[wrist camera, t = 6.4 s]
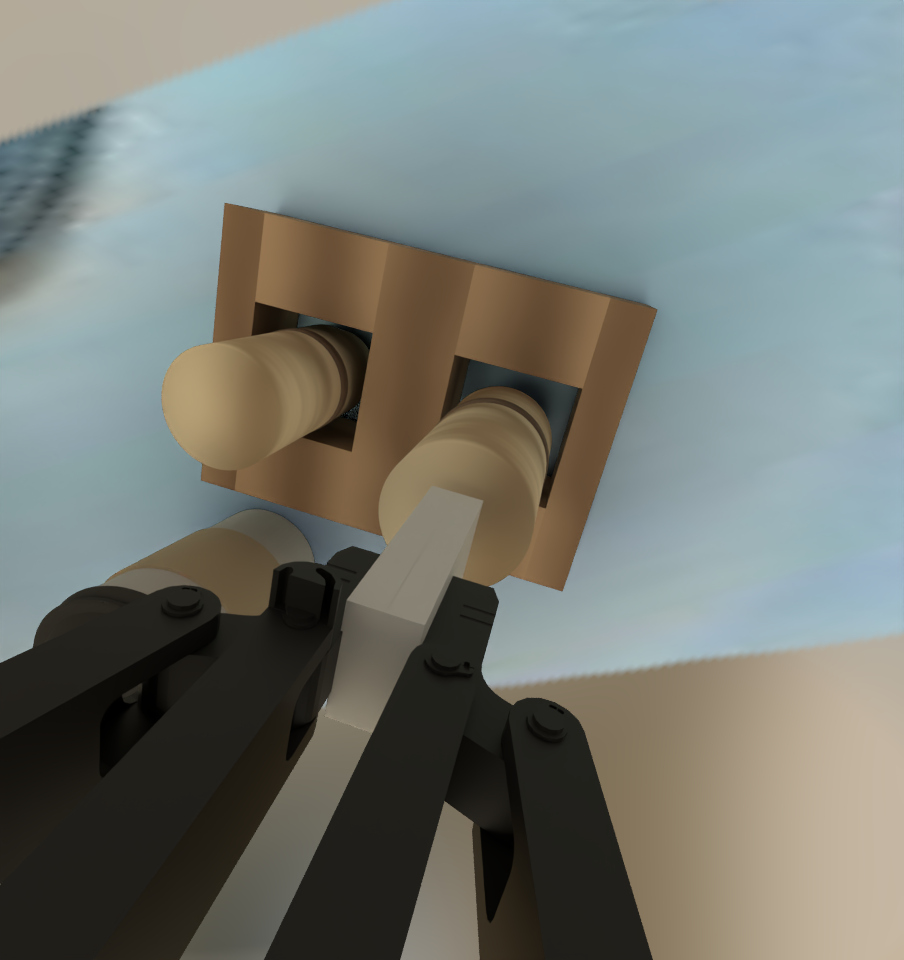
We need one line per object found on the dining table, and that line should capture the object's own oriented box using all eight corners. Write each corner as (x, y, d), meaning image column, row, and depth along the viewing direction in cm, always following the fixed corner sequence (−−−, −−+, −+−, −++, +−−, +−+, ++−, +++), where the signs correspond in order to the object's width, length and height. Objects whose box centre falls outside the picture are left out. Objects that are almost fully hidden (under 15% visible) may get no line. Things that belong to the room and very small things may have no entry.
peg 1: (292, 396, 35) (157, 452, 24) (304, 311, 34) (164, 328, 22) (372, 419, 35) (271, 486, 24) (388, 333, 33) (287, 362, 22)
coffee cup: (248, 463, 38) (51, 572, 24) (358, 559, 38) (228, 721, 24) (179, 556, 41) (-30, 699, 27) (281, 643, 42) (128, 828, 28)
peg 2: (444, 461, 31) (364, 565, 20) (467, 366, 29) (393, 422, 18) (539, 488, 30) (511, 611, 19) (567, 393, 29) (555, 468, 17)
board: (248, 455, 38) (201, 480, 33) (275, 213, 33) (224, 202, 28) (565, 550, 35) (562, 591, 31) (646, 304, 30) (657, 309, 26)
